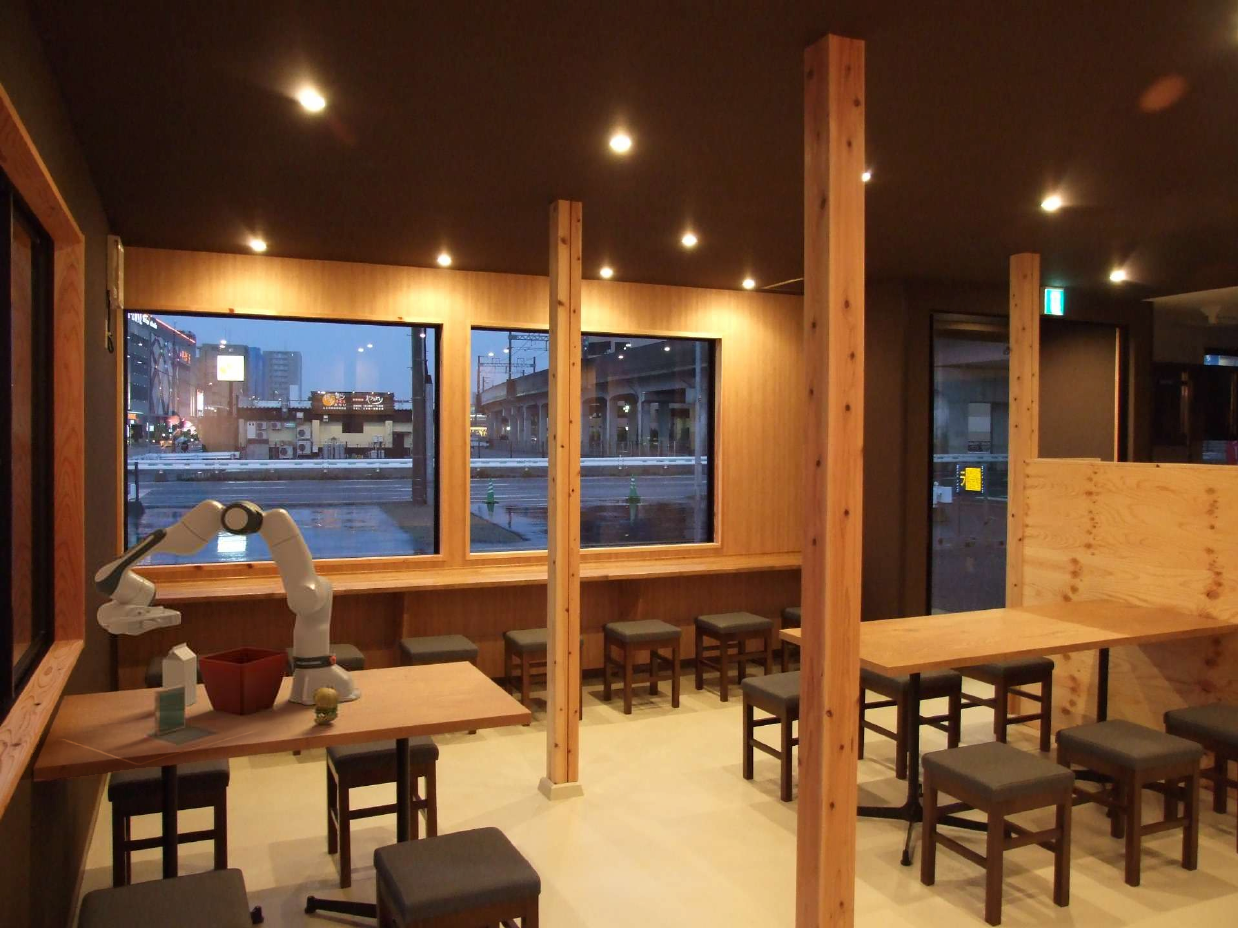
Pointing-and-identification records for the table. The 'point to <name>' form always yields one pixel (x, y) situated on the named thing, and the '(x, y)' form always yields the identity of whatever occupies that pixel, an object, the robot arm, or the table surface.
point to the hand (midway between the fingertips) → (158, 624)
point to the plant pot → (243, 679)
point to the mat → (183, 734)
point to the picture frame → (169, 709)
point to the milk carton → (181, 672)
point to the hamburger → (326, 705)
